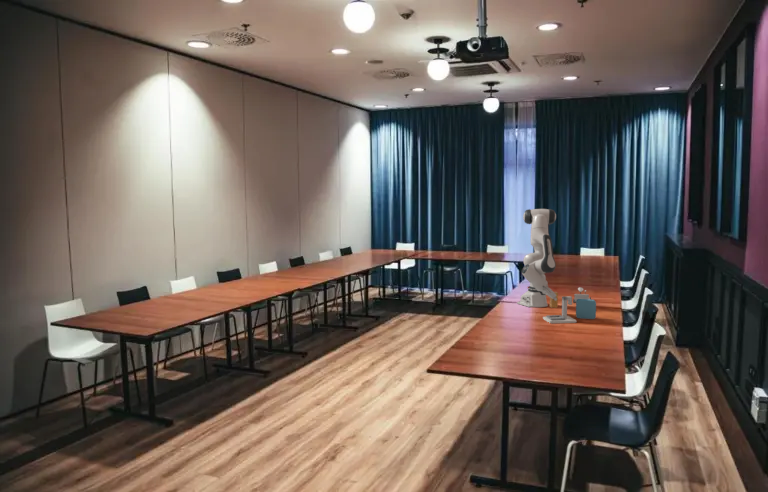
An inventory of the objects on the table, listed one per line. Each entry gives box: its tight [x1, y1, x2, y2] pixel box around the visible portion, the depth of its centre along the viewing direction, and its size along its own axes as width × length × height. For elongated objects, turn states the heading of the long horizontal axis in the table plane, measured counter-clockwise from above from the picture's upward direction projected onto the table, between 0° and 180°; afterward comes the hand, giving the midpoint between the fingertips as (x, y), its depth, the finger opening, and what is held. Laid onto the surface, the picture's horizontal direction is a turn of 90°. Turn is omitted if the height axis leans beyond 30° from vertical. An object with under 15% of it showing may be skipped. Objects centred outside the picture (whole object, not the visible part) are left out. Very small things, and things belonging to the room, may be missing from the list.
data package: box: [575, 299, 597, 320], centre depth 362 cm, size 12×4×12 cm, turn 73°
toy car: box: [572, 287, 592, 304], centre depth 418 cm, size 18×10×12 cm
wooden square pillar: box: [548, 291, 559, 309], centre depth 371 cm, size 4×4×10 cm
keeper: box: [542, 295, 577, 324], centre depth 355 cm, size 17×13×16 cm
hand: (554, 299), depth 371 cm, fingers closed on wooden square pillar, 4 cm apart
